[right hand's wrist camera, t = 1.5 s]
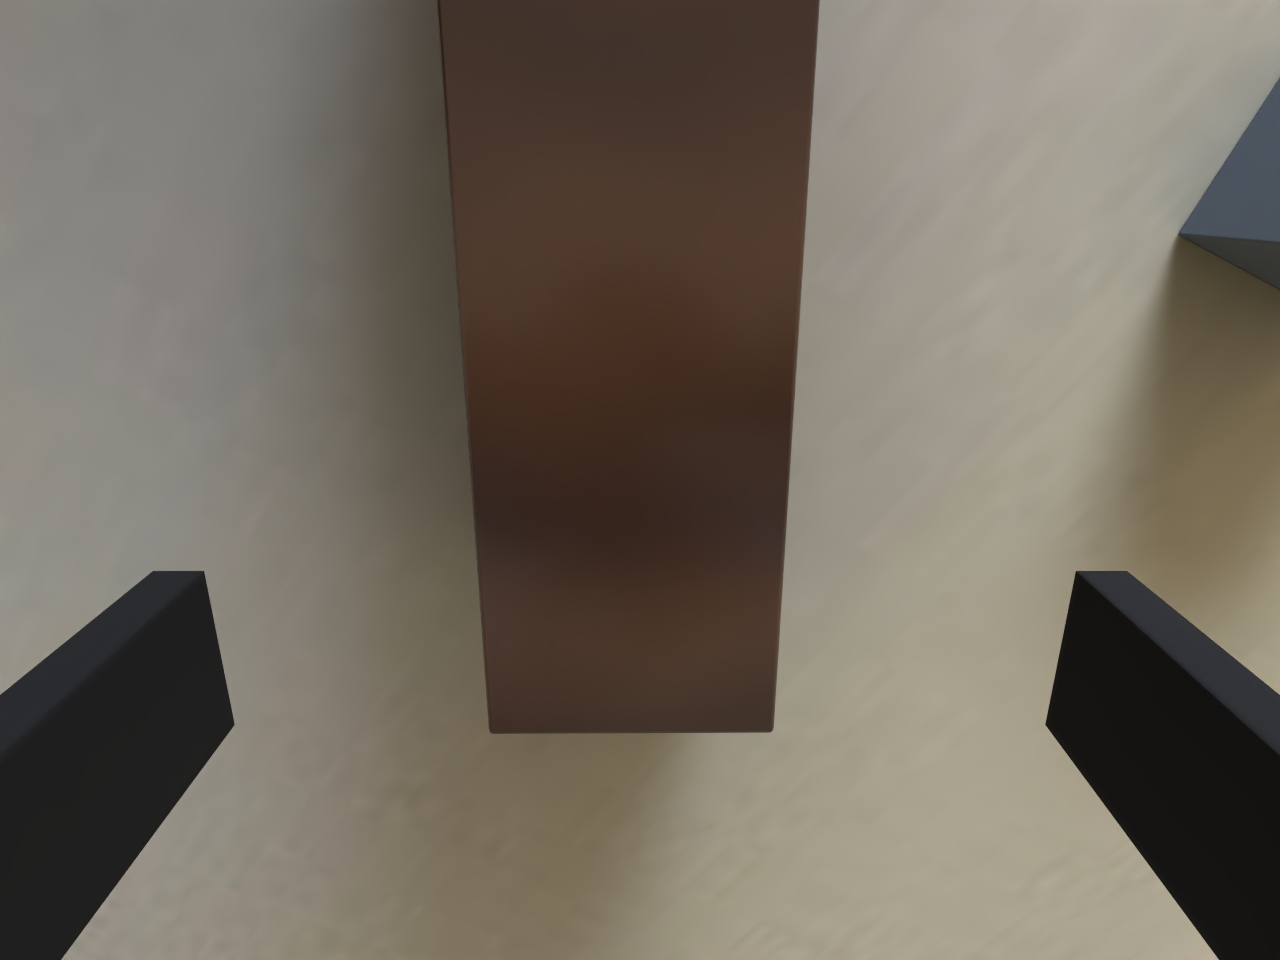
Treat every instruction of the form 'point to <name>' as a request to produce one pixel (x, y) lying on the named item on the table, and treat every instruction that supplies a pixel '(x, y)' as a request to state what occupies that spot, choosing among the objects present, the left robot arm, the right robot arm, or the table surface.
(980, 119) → the table surface
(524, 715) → the walnut box
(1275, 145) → the slate block
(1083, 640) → the right robot arm
